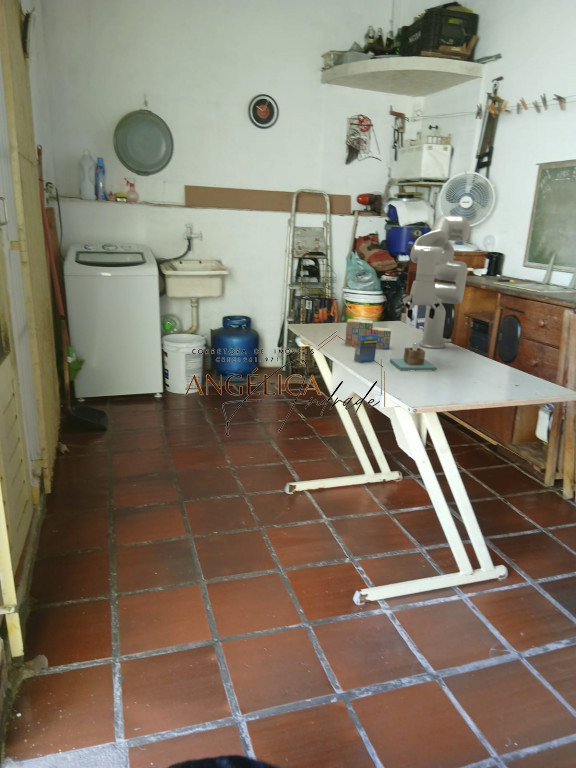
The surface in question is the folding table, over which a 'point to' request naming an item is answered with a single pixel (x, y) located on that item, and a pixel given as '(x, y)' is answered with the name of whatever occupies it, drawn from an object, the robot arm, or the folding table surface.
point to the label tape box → (366, 348)
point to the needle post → (414, 347)
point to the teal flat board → (405, 367)
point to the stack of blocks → (366, 333)
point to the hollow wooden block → (414, 356)
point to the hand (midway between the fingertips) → (420, 318)
